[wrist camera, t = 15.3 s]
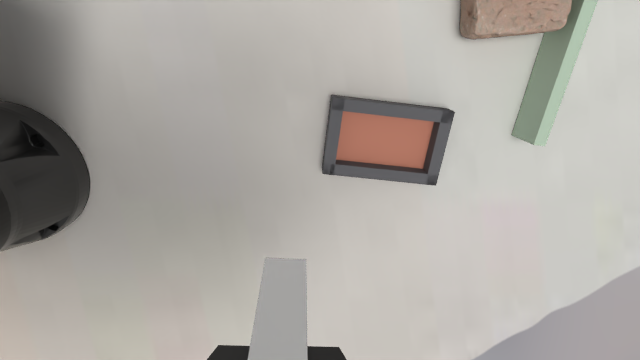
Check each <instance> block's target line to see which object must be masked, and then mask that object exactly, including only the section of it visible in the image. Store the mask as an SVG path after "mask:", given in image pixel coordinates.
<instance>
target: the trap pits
mask: <svg viewBox="0 0 640 360" xmlns="http://www.w3.org/2000/svg"><path fill="white" fill-rule="evenodd" d="M454 113H455V112H454V111H451V110H449V109H446V108H437V107H429V106H421V105H412V104H404V103H396V102H387V101H379V100H371V99H362V98H354V97H346V96H337V95H331V101H330V109H329V117H328V125H327V132H326V140H325V148H324V155H323V163H322V173H323V174H329V175H339V176H349V177H358V178H368V179H378V180H388V181H397V182H407V183H417V184H427V185H436V183H437V179H438V175H439V171H440V167H441V164H442V160H443V156H444V152H445V148H446V144H447V140H448V136H449V132H450V129H451V125H452V121H453V117H454Z"/></svg>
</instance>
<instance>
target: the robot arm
mask: <svg viewBox="0 0 640 360" xmlns="http://www.w3.org/2000/svg"><path fill="white" fill-rule="evenodd" d="M88 195H89V176H88V171H87V167H86V164H85V162H84V159H83V157H82V155H81V153H80V152H79V150H78V148H77V147H76V145H75V144H74V143H73V141H72V140H71V139H70V138H69V137H68V135H67V134H66V133H65V132H64V131H63V130H62V129H61V128H59V127H58V126H57V125H56V124H55V123H53V122H52V121H51V120H49V119H48V118H46V117H45V116H43V115H41V114H40V113H38V112H36V111H34V110H32V109H29V108H27V107H24V106H21V105H18V104H14V103H10V102H4V101H0V251H4V250H7V249H11V248H14V247H18V246H21V245H25V244H28V243H32V242H35V241H39V240H42V239H45V238H48V237H50V236H52V235H54V234H56V233H57V232H59V231H60V230H62V229H63V228H65V227H66V226H67V225H69V224H70V223H71V222H73V221H74V220H75V219H76V218H77V217H78V216H79V215H80V213H81V212H82V210H83V209H84V207H85V205H86V202H87V199H88ZM207 360H346V358H345V356H344V355H343V353H342V351H341V350H340V348H339V347H311V346H307V286H306V259H285V258H265V264H264V269H263V275H262V281H261V287H260V292H259V298H258V304H257V309H256V315H255V321H254V326H253V332H252V338H251V343H250V346H228V345H218V346H217V348H216V349H215V350H214V351H213V353H212V354H211V355H210V356H209V358H208V359H207Z"/></svg>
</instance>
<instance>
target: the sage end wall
mask: <svg viewBox="0 0 640 360" xmlns="http://www.w3.org/2000/svg"><path fill="white" fill-rule="evenodd" d="M597 1H598V0H572V4H571V11H570V13H569V15H568V18H567V22H566V24H565V26H564V27H563V28H561V29H559V30H557V31H553V32H545V33H544V36H543V39H542V42H541V45H540V49H539V52H538V55H537V58H536V61H535V64H534V67H533V70H532V73H531V76H530V80H529V83H528V86H527V89H526V92H525V95H524V98H523V101H522V104H521V107H520V111H519V114H518V117H517V120H516V123H515V126H514V129H513V132H512V136H515V137H517V138H519V139H521V140H524V141H526V142H528V143H531V144H533V145H540V146H545V145H546V142H547V140H548V137H549V134H550V131H551V129H552V126H553V123H554V120H555V118H556V115H557V112H558V109H559V106H560V104H561V101H562V98H563V95H564V93H565V90H566V87H567V84H568V82H569V79H570V76H571V73H572V71H573V68H574V65H575V62H576V59H577V57H578V54H579V51H580V48H581V46H582V43H583V40H584V37H585V35H586V32H587V29H588V26H589V24H590V21H591V18H592V15H593V12H594V10H595V7H596V4H597Z"/></svg>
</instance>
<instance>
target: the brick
mask: <svg viewBox="0 0 640 360" xmlns="http://www.w3.org/2000/svg"><path fill="white" fill-rule="evenodd" d="M571 4H572V0H461V19H460V31H461V34H462V36H464V37H465V38H470V39H477V38H479V39H483V38H490V37H502V36H514V35H527V34H534V33H544V32H553V31H557V30H559V29H561V28H563V27H564V26H565V24H566V22H567V18H568V15H569V13H570V11H571Z"/></svg>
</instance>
